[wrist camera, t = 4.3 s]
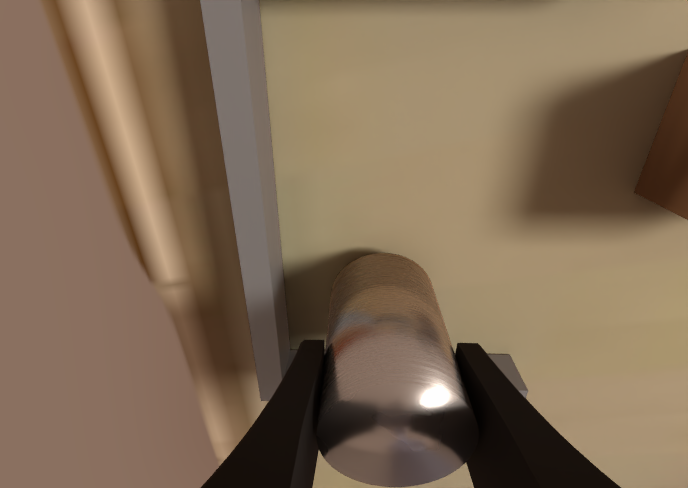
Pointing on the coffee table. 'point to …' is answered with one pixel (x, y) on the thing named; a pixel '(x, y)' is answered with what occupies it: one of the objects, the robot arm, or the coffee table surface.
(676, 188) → the walnut block
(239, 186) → the parts pen
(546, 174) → the coffee table surface
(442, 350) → the silver cylinder
